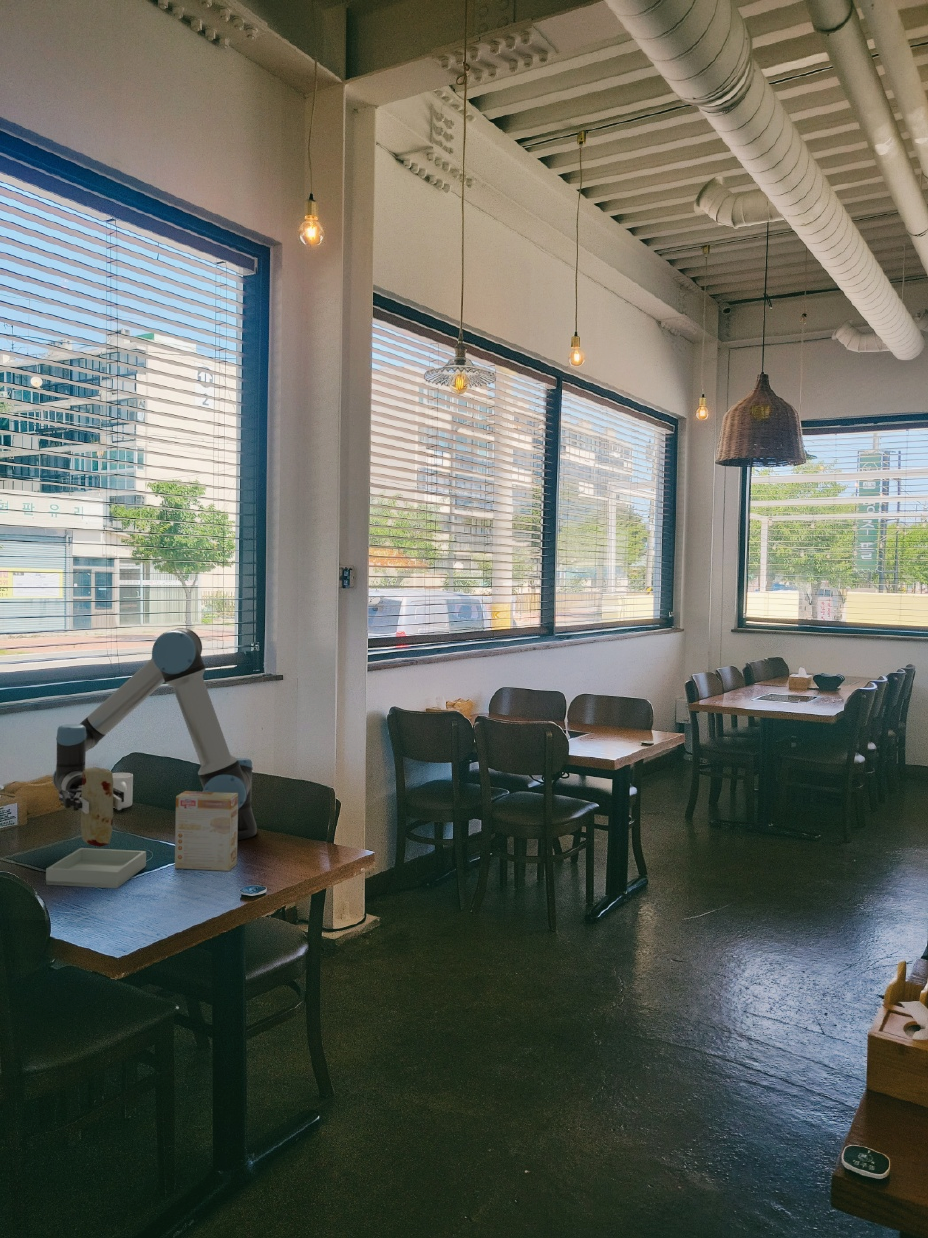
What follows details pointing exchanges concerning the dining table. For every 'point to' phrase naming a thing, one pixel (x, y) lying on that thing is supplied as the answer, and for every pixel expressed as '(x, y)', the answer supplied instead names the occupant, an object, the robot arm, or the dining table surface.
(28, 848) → the dining table surface
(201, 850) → the coffeecake box
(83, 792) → the food model
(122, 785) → the mug
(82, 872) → the bin
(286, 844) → the dining table surface
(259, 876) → the dining table surface
